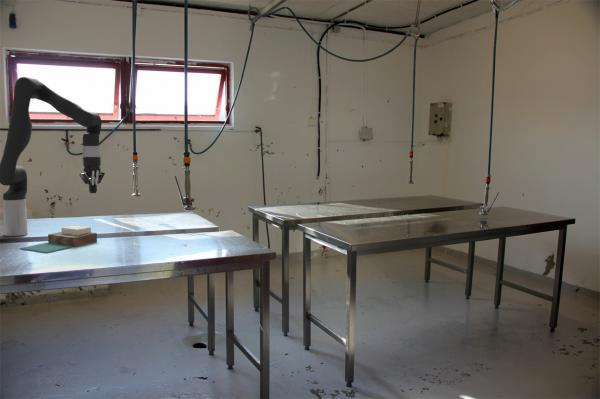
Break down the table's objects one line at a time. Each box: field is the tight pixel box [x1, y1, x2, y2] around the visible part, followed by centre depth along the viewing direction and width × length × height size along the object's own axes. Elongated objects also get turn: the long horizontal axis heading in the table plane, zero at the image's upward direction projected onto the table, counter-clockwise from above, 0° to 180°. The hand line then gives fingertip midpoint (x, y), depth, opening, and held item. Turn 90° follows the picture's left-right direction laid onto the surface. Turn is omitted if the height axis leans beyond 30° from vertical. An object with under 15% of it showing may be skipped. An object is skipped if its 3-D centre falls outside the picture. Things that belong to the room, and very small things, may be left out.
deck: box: [47, 231, 98, 248], centre depth 205 cm, size 16×12×4 cm
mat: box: [19, 242, 74, 254], centre depth 193 cm, size 16×12×1 cm
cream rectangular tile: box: [61, 225, 92, 235], centre depth 207 cm, size 10×7×2 cm
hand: (93, 193), depth 215 cm, fingers closed
